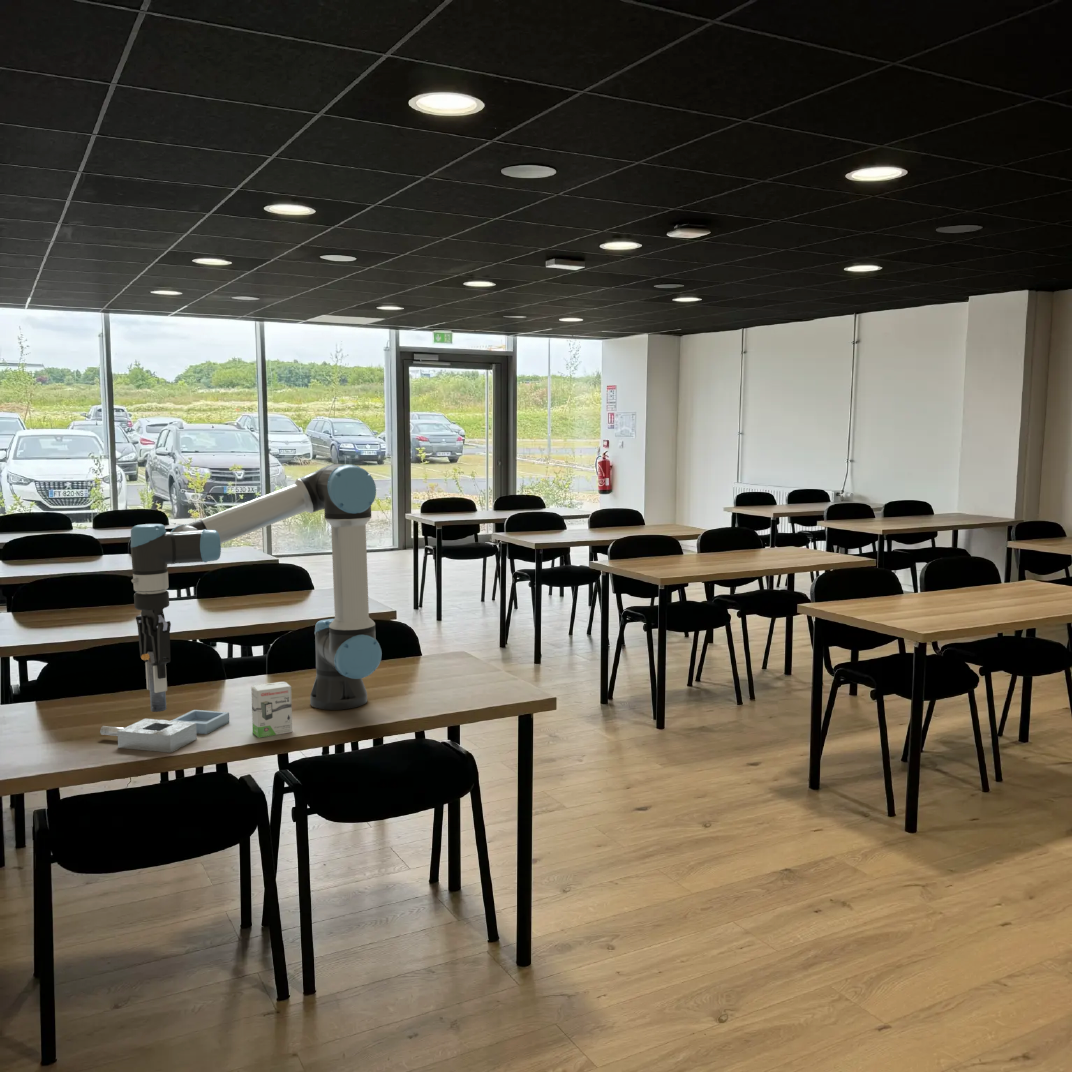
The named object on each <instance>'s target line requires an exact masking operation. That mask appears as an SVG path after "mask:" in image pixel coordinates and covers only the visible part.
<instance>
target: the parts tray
mask: <svg viewBox="0 0 1072 1072" xmlns="http://www.w3.org/2000/svg"><path fill="white" fill-rule="evenodd" d="M170 721H180V722H192V723H196V733H197V734H203V735H208V734H210V733H211V732H213V731H215V730H217V729H219V728H221V727H223V726H224V725H227V724H228V723H230V712H229V711H228V712H227V711H215V710H202V709H201V710H200V709H193V710H190V711H188V712H186V713H184V714H182V715H180V716H178V717H176V718H173V719H171V720H170Z"/></svg>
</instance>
